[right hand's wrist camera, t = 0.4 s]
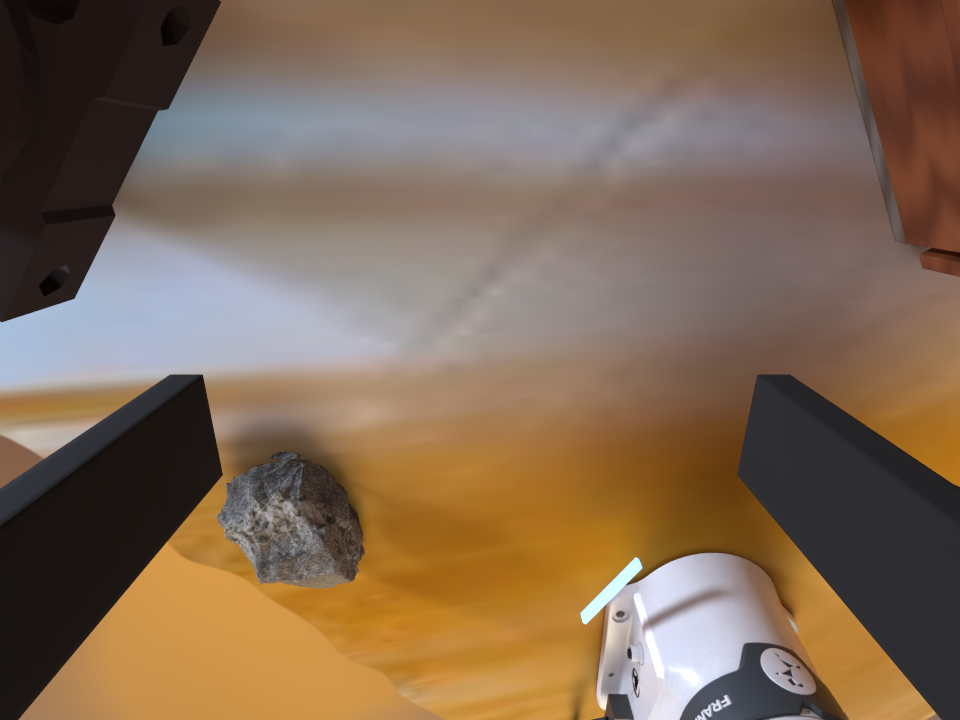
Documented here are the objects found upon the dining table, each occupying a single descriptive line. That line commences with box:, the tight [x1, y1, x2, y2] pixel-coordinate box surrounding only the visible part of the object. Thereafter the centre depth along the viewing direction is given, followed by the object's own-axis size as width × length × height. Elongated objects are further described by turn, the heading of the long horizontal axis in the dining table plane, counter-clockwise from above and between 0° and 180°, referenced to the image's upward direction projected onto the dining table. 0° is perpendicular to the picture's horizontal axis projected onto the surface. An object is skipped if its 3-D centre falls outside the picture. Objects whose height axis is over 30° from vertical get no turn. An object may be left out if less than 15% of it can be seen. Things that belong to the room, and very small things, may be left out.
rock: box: [217, 452, 365, 588], centre depth 43 cm, size 13×9×6 cm, turn 44°
